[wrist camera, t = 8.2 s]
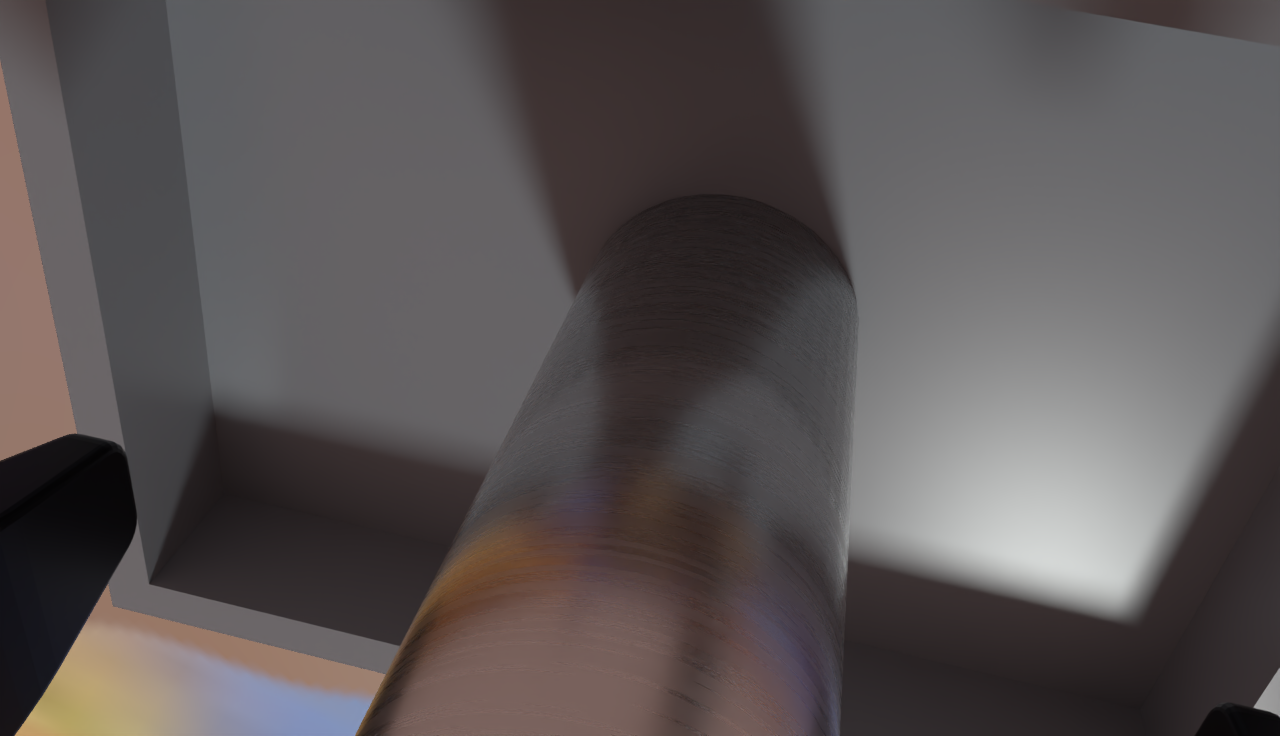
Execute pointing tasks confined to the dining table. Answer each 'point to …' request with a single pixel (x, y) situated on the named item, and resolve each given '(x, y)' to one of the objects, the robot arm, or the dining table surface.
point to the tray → (610, 196)
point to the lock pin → (659, 504)
